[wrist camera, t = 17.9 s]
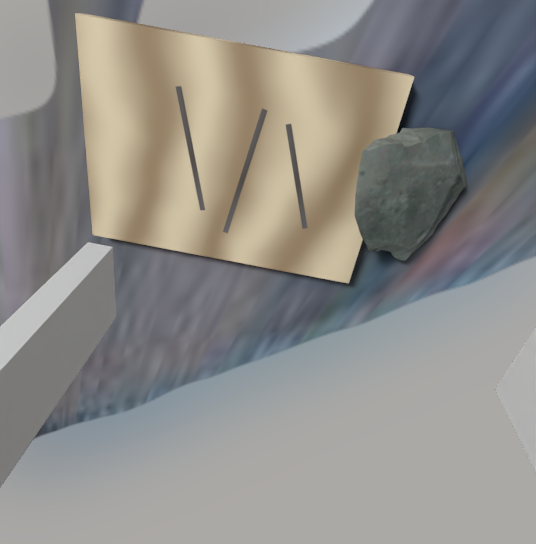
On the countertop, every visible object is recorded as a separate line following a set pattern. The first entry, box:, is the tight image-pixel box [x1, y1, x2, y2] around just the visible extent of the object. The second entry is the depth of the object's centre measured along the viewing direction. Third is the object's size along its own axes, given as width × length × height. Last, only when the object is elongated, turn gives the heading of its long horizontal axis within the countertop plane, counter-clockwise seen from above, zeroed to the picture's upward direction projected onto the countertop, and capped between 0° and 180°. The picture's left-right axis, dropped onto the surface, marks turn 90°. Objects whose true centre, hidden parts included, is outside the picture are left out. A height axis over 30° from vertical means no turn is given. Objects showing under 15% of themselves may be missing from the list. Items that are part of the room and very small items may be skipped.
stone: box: [355, 128, 467, 261], centre depth 29 cm, size 11×4×10 cm
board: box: [75, 13, 414, 283], centre depth 31 cm, size 22×16×2 cm
